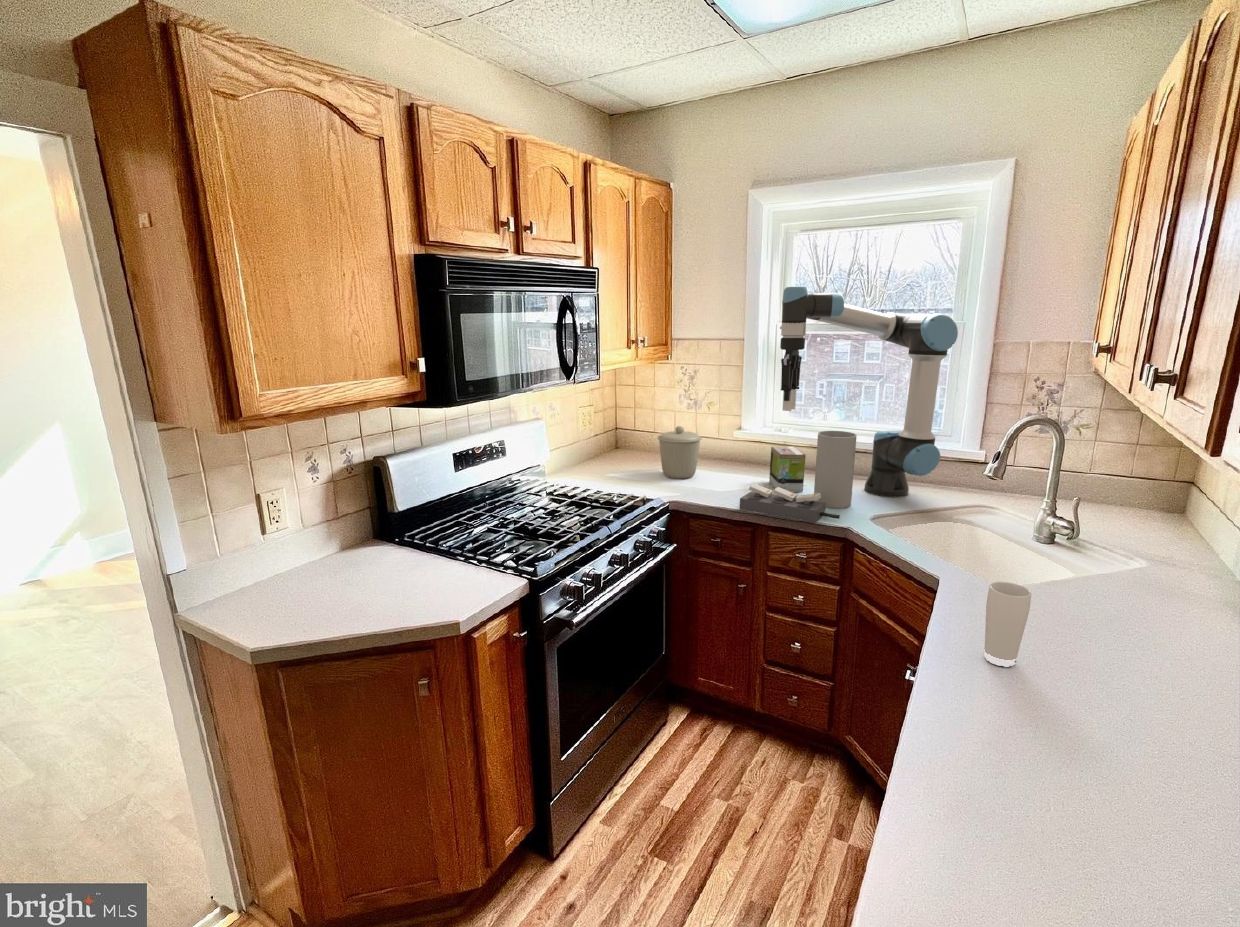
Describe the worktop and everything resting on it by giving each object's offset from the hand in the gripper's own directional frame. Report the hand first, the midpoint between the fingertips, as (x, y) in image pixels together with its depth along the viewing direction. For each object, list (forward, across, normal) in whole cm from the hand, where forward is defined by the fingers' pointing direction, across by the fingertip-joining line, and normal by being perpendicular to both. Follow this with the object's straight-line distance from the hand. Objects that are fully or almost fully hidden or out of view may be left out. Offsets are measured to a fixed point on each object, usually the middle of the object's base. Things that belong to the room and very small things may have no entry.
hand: (788, 409), depth 200 cm
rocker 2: (+30, 0, 0) cm, 30 cm away
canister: (+35, -22, -52) cm, 66 cm away
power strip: (+35, +2, +3) cm, 35 cm away
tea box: (+35, -29, -9) cm, 46 cm away
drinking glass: (+35, +69, +66) cm, 102 cm away
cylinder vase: (+35, -16, +12) cm, 40 cm away
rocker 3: (+30, 0, +8) cm, 31 cm away
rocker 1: (+30, 0, -8) cm, 31 cm away
